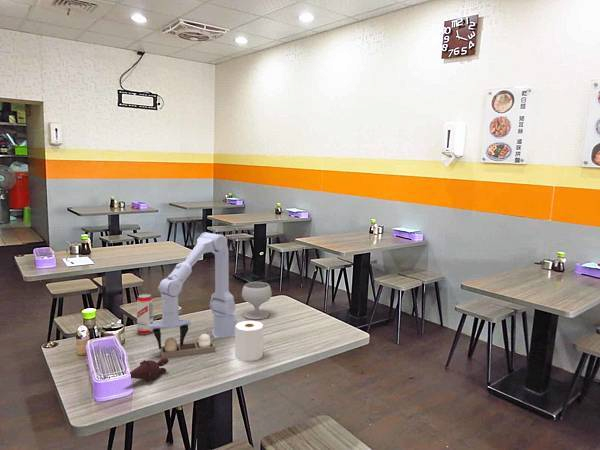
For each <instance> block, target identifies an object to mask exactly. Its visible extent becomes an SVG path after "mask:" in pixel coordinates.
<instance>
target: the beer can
mask: <svg viewBox="0 0 600 450" xmlns="http://www.w3.org/2000/svg"><path fill="white" fill-rule="evenodd" d="M153 299H154V298H153V297H152V294H149V293H142V294H138V296H137V298H136V319H137V320H136V321H137V327H136V328H137V333H138V334H139V335H141V336H146V335H151V334H152V333H153V331H150V326H149V324H154V305H153V303H154V301H153Z"/></svg>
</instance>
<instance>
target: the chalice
mask: <svg viewBox="0 0 600 450" xmlns="http://www.w3.org/2000/svg"><path fill="white" fill-rule="evenodd" d="M272 296H273V294H272V288H271V285H270V284H269V283H268V282H263V281H251V282H250V281H249V282H247V283H245V284H244V285H243V287H242V291H241V297H242V299H243V300H244V301H245V302H246V303H249V304H251V305H252V306H253V307H254V310H248V311H245V312H244V314H243V317H244V318H245V319H249V320H263V319H267V318H268V317H270V313H269V312H267V311H266V310H265V311H264V310H259V309H260V306H261V305H263V304H264V303H266V302H268V301H269V300H270V299H271V298H272Z"/></svg>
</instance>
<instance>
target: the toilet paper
mask: <svg viewBox="0 0 600 450" xmlns="http://www.w3.org/2000/svg"><path fill="white" fill-rule="evenodd" d="M263 355H264V324H263V323H262V322H260V321H255V320H243V321H240V322H237V324H236V326H235V336H234V357H235V358H236V359H237V360H238V361H239V360H240V361H244V362H254V361H258V360H260V359H262V357H263Z"/></svg>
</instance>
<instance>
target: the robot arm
mask: <svg viewBox="0 0 600 450" xmlns="http://www.w3.org/2000/svg"><path fill="white" fill-rule="evenodd" d="M207 253H213V255H214V276H215V277H214V286H215V287H214V289H215V290H214V292H213V293H212V294H211V295H210V296H211V298H210V302H209V309H210V310H211V311H212V314H213V330H211V334H212V335H213V337H214V338H215V339H218V338H219V339H220V338H226V337H227V338H228V337H235V326H236V324H237V323H238V316H237V313H236V312H235V310H236V303H235V299H234V298H235V297H234V295H233V294H232V293H231V292H230V289H229V287H230V284H229V283H230V280H229V278H230V277H229V273H230V272H229V269H230V267H229V257H230V256H229V255H230V254H229V246H228V238H227V237H226V236H224V234H222V233H221V234H219V233H218V234H216V233H211V232H207V231H205V232H202V233H201V234H200V236H199V237H198V238H197V239H196V244H195V246H194V247H193V249H192V250H191V251H190V253H189V254H188V255H187V257H186V258H185V260H184V261H183V262H179V263H177V264H176V265H175V267H174V269H173V270H172V271H171V272H170V273H169V275H168V276H167V277H166V278H163V279H162V280H161V281H160V282H159V285H158V286H157V290H158V291H159V293H160V297H161V313H162V314H161V320H162V321H160V322H159V321H158V322H155V323H154V322H153V324H149V326H150V331H152V333H153V335H154V336H155V338H156V339H155V340H157V345H158V349H159V350H161V346H162V341H161V340H162V332H161V330H164V329H165V330H167V329H172V328H179V344H180V345H181V346H183V344H184V341H185V339H186V335H187V333H188V331H189V327H191V326H192V321H191V319H179V294H180V293H181V291H182V290H183V285H184V283H185V281H186V280H187V279H188V278H189V276H190V275H191V273H192V272H193V271H192V267H193V266H194V265H195V264H196V263H197V262H198V261H199V260H200V259H201V258H202V257H203V255H204V254H207Z"/></svg>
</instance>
